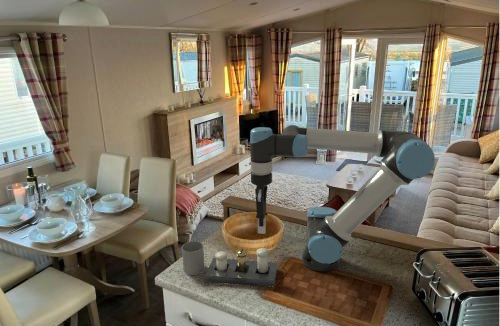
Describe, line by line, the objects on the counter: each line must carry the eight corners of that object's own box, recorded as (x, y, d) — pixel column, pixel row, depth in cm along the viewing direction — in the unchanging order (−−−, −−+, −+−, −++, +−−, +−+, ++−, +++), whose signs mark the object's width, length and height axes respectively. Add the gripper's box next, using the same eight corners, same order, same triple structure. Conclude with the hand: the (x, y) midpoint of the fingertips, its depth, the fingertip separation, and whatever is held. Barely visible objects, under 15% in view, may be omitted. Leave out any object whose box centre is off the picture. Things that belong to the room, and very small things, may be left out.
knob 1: (229, 269, 146) (228, 251, 144) (226, 276, 142) (225, 258, 140) (217, 268, 147) (216, 251, 145) (214, 275, 143) (213, 257, 140)
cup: (200, 275, 144) (198, 253, 141) (180, 273, 145) (178, 251, 142) (207, 263, 152) (205, 242, 149) (188, 262, 153) (186, 240, 150)
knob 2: (269, 266, 143) (269, 248, 141) (268, 273, 139) (267, 254, 136) (257, 266, 144) (257, 247, 141) (255, 272, 139) (255, 254, 137)
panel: (277, 269, 147) (277, 262, 146) (274, 287, 136) (274, 280, 135) (213, 264, 151) (213, 257, 150) (205, 282, 140) (205, 275, 139)
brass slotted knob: (248, 265, 144) (247, 248, 142) (246, 271, 140) (245, 254, 138) (238, 264, 145) (237, 247, 142) (235, 270, 141) (235, 253, 139)
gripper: (253, 165, 136) (254, 224, 143) (247, 177, 124) (248, 240, 131) (273, 166, 135) (273, 225, 142) (270, 178, 123) (269, 242, 130)
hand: (261, 232), depth 137 cm, fingers closed
